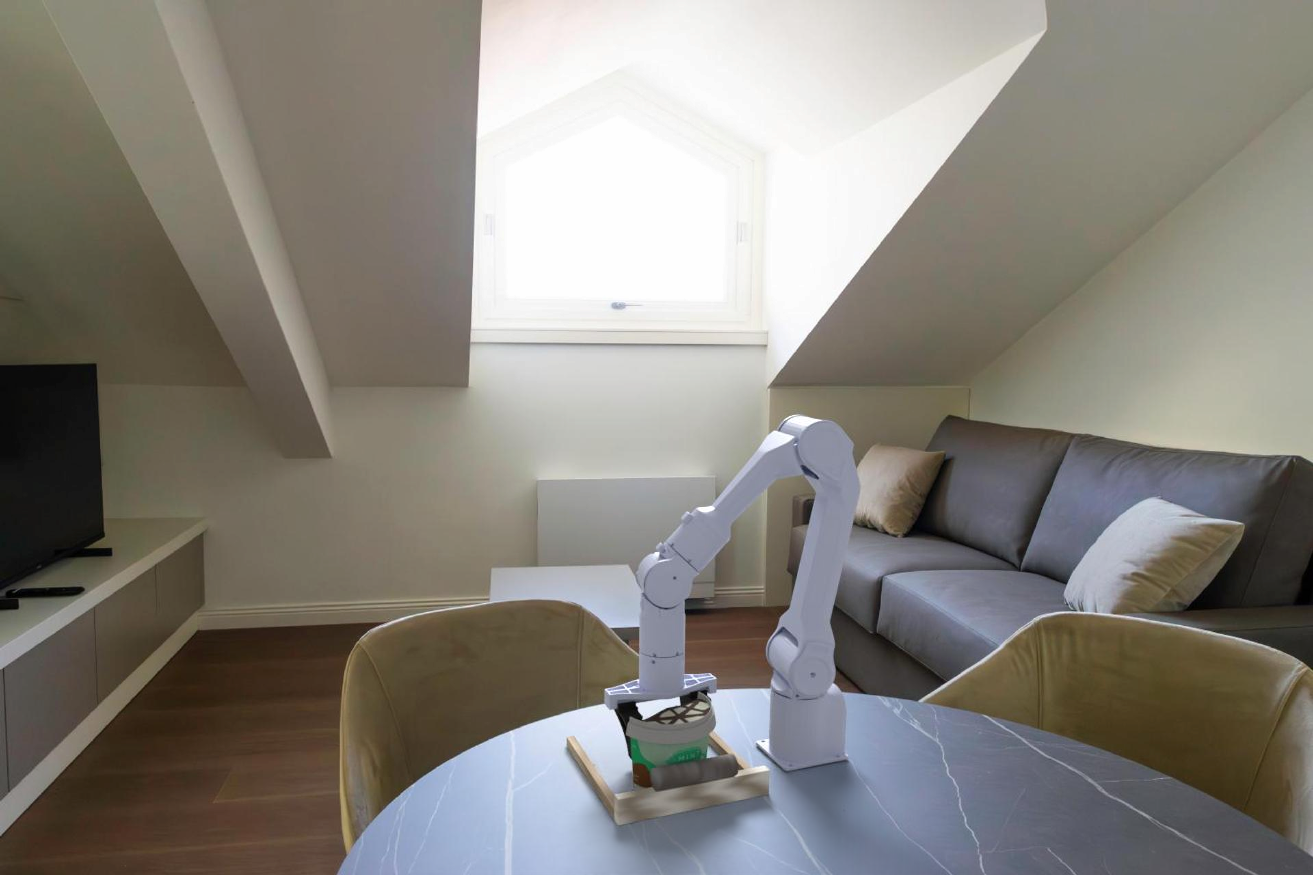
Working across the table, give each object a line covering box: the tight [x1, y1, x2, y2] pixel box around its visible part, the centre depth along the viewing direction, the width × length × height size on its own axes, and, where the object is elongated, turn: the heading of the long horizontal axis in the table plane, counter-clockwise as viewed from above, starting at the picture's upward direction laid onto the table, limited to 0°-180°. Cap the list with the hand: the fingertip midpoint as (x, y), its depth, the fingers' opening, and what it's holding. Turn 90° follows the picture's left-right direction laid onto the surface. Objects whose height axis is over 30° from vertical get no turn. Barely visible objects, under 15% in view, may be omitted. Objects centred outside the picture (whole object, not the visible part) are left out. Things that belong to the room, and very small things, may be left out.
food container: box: [626, 692, 717, 791], centre depth 100 cm, size 12×6×10 cm, turn 132°
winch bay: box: [566, 730, 771, 826], centre depth 105 cm, size 19×21×5 cm
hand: (660, 753), depth 107 cm, fingers open, 7 cm apart
